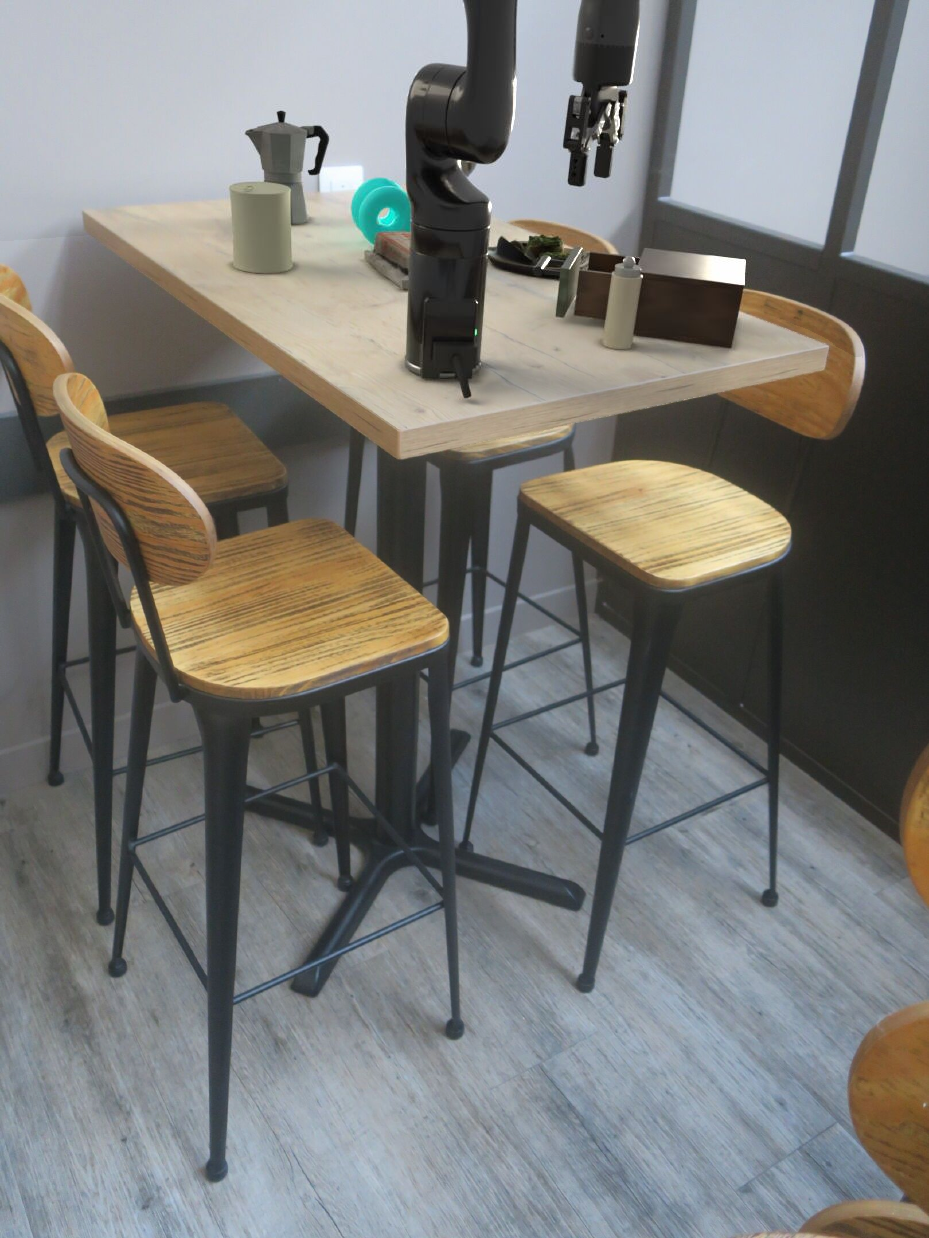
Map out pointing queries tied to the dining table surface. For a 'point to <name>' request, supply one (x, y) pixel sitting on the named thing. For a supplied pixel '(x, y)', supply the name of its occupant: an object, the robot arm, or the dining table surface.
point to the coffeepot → (288, 158)
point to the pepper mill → (622, 305)
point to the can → (261, 227)
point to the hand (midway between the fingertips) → (589, 181)
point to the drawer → (583, 282)
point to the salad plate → (531, 254)
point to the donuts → (380, 208)
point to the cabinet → (689, 297)
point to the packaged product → (391, 256)
